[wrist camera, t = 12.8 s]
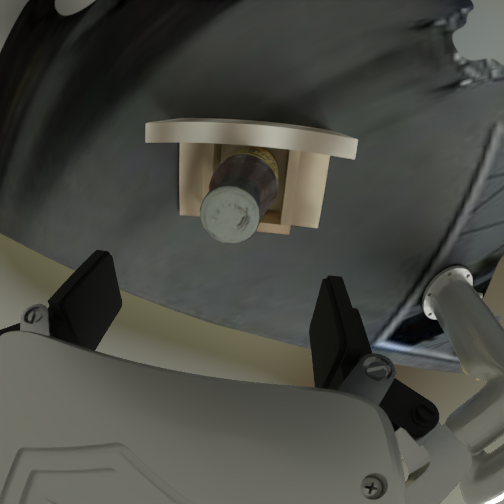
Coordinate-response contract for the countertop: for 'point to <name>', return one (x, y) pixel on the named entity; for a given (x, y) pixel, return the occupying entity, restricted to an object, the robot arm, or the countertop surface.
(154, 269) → the countertop surface
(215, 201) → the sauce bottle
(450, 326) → the robot arm
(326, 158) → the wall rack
